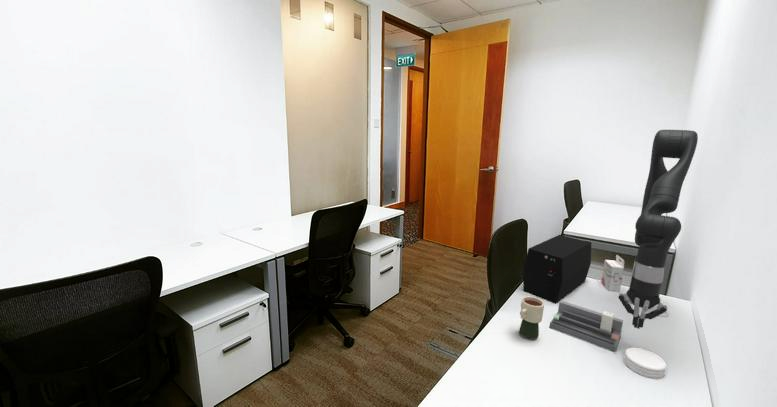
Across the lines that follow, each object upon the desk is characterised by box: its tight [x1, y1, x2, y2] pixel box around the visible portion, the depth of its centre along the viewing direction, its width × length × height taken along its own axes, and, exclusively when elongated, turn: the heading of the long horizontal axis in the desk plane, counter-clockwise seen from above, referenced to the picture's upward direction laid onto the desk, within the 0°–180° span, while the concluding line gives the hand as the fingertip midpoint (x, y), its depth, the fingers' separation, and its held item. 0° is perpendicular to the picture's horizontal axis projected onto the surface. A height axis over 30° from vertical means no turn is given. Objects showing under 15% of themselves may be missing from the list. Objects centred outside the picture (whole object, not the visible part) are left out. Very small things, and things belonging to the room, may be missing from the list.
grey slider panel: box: [549, 300, 624, 353], centre depth 118 cm, size 12×20×6 cm, turn 49°
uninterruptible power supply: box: [522, 234, 592, 305], centre depth 151 cm, size 16×34×20 cm, turn 131°
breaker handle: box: [600, 310, 615, 332], centre depth 114 cm, size 3×3×7 cm
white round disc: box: [623, 347, 667, 379], centre depth 102 cm, size 10×10×4 cm
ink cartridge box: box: [600, 254, 625, 292], centre depth 152 cm, size 9×5×15 cm, turn 168°
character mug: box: [518, 295, 545, 340], centre depth 115 cm, size 11×7×13 cm, turn 123°
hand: (636, 327), depth 108 cm, fingers closed
